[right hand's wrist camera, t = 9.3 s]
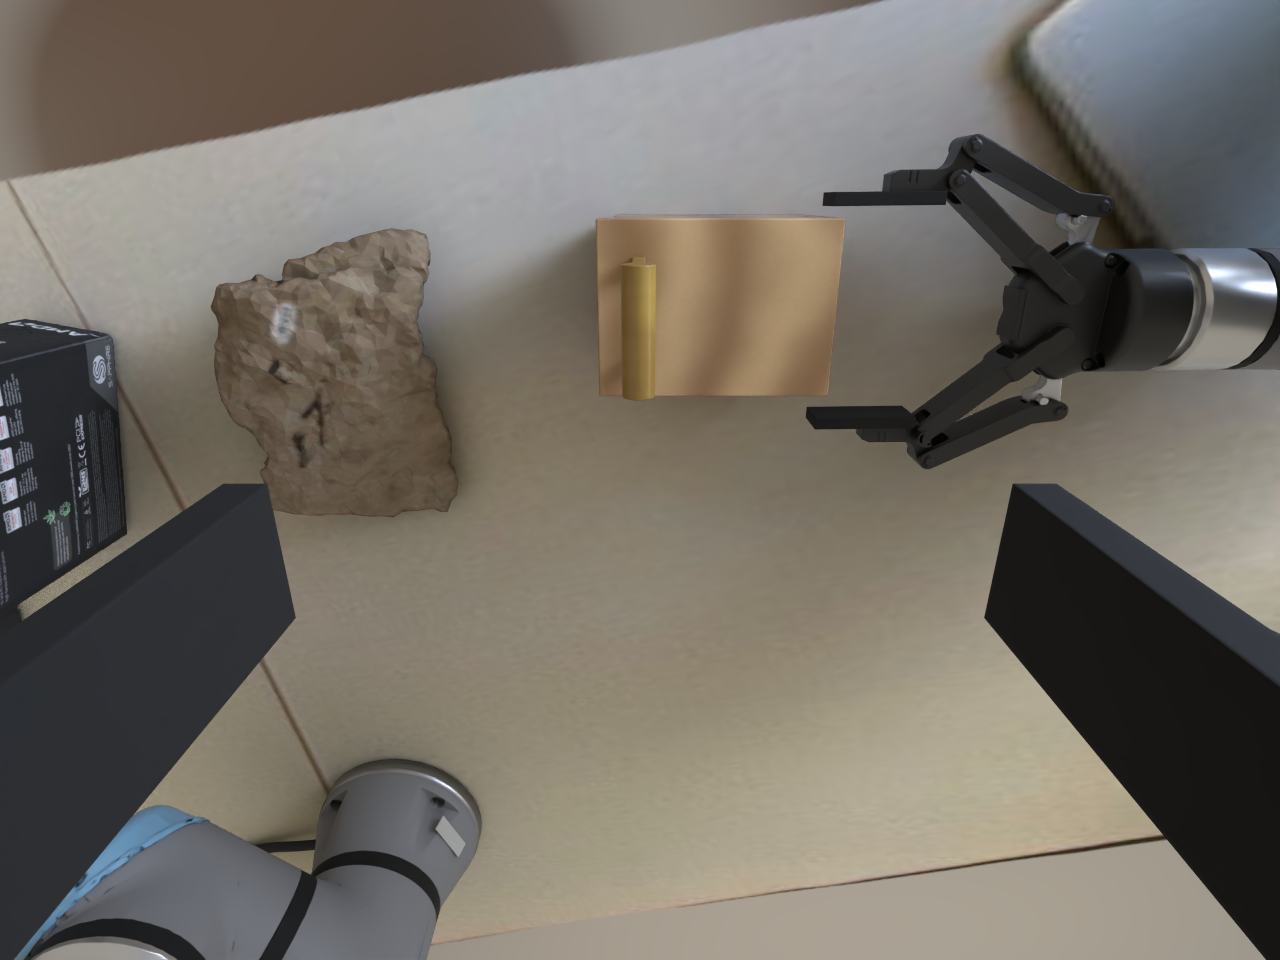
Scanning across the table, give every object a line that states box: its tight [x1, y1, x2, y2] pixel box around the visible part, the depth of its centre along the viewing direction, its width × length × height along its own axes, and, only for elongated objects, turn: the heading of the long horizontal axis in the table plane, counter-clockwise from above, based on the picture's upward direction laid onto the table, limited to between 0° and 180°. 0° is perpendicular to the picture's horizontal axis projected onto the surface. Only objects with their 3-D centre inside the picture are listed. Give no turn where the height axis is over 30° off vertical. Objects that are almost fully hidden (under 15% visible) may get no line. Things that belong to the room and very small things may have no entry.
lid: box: [596, 218, 845, 400], centre depth 37 cm, size 14×10×9 cm
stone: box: [211, 229, 458, 517], centre depth 50 cm, size 21×15×6 cm
